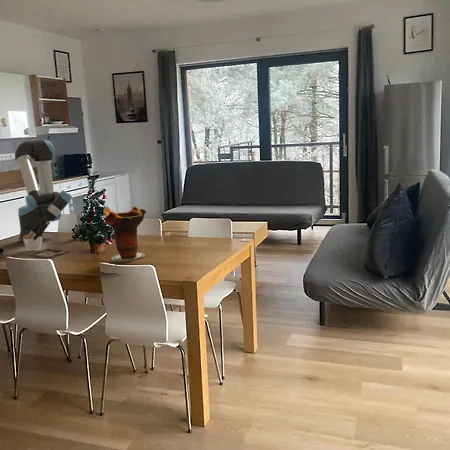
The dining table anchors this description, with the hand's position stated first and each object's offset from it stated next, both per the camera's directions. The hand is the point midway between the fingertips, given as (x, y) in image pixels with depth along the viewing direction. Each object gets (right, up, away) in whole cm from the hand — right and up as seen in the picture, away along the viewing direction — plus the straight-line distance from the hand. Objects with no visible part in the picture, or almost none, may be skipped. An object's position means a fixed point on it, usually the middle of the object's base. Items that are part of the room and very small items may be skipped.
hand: (28, 242), depth 295 cm
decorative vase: (+65, -7, -26) cm, 70 cm away
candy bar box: (+24, +3, +38) cm, 45 cm away
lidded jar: (+3, -4, +2) cm, 5 cm away
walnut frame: (+15, -7, -10) cm, 19 cm away
